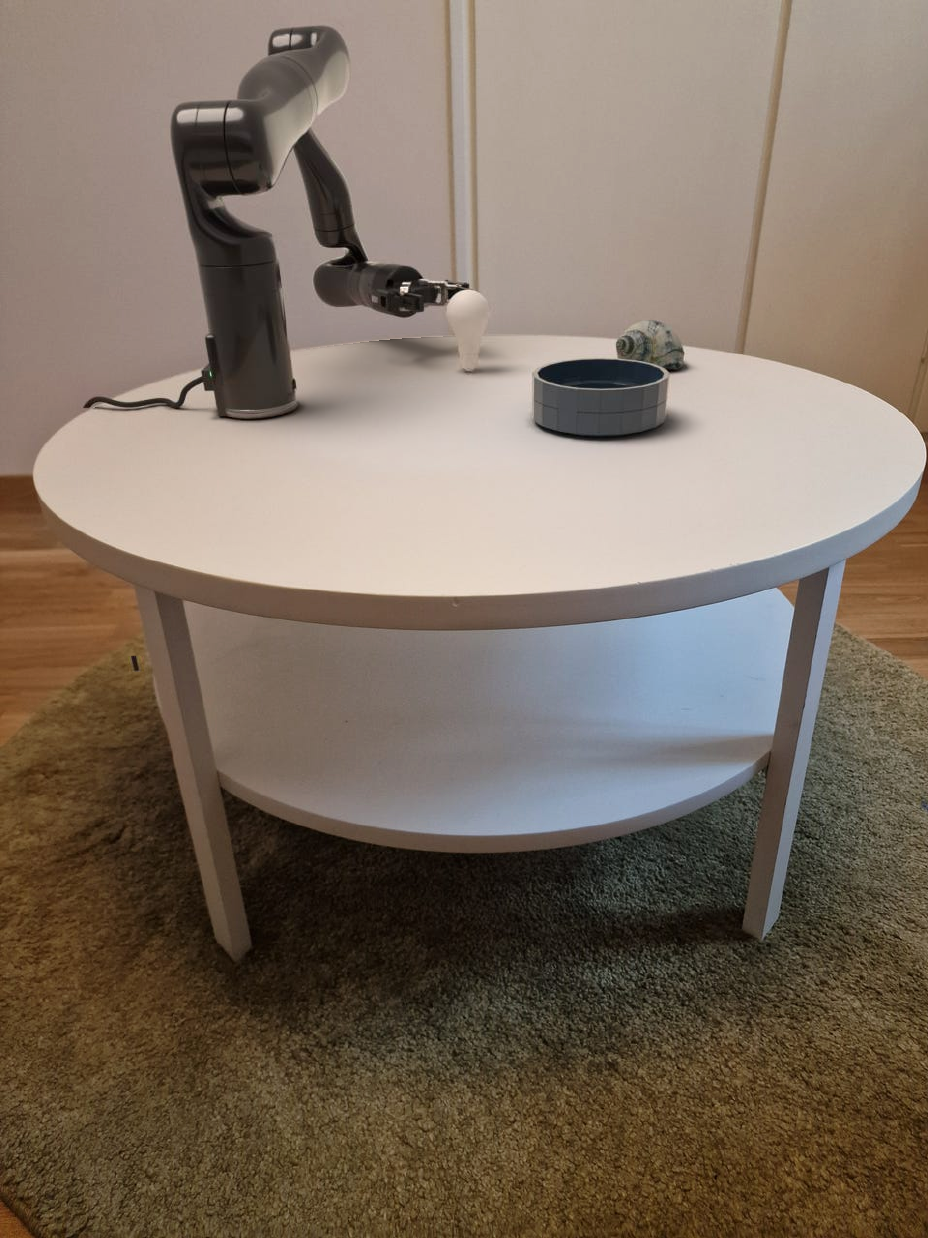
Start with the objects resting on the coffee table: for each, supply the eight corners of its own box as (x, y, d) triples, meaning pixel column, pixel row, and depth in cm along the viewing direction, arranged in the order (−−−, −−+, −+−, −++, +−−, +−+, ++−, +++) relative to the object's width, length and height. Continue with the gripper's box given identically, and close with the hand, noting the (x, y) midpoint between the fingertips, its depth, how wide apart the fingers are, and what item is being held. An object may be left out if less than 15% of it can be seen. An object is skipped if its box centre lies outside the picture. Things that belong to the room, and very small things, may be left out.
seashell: (691, 380, 120) (609, 385, 118) (674, 347, 125) (595, 352, 123) (704, 341, 115) (619, 346, 113) (686, 309, 120) (604, 313, 118)
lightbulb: (443, 375, 120) (440, 292, 115) (454, 365, 125) (451, 286, 120) (485, 376, 119) (484, 293, 114) (494, 366, 124) (494, 286, 119)
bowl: (539, 443, 92) (540, 392, 89) (526, 405, 105) (526, 360, 103) (679, 438, 92) (684, 387, 90) (648, 401, 105) (652, 355, 103)
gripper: (348, 267, 128) (402, 277, 116) (428, 259, 135) (487, 267, 123) (353, 319, 132) (406, 334, 120) (430, 308, 139) (488, 322, 127)
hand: (447, 300), depth 122 cm, fingers open, 8 cm apart
